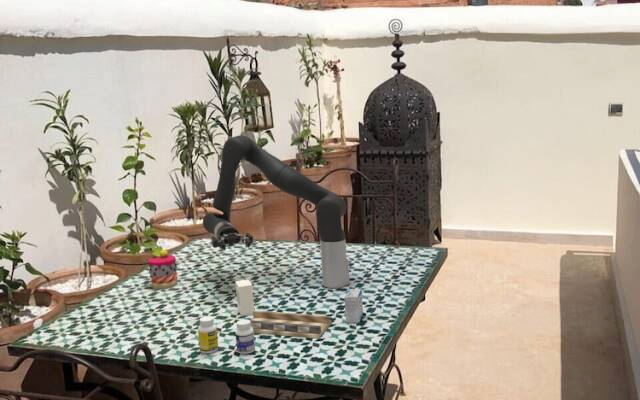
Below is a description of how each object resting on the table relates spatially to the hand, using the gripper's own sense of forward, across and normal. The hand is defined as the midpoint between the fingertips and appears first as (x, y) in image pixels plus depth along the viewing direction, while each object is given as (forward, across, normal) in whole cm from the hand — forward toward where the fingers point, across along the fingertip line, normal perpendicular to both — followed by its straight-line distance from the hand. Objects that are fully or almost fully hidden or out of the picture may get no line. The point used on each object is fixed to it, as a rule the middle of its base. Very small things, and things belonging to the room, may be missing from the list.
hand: (236, 245), depth 233 cm
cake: (-33, -21, +23) cm, 46 cm away
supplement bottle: (+37, -18, +19) cm, 45 cm away
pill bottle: (+43, -8, +19) cm, 47 cm away
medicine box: (+35, +29, +18) cm, 49 cm away
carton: (+11, 0, +20) cm, 23 cm away
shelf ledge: (+32, +7, +18) cm, 37 cm away
